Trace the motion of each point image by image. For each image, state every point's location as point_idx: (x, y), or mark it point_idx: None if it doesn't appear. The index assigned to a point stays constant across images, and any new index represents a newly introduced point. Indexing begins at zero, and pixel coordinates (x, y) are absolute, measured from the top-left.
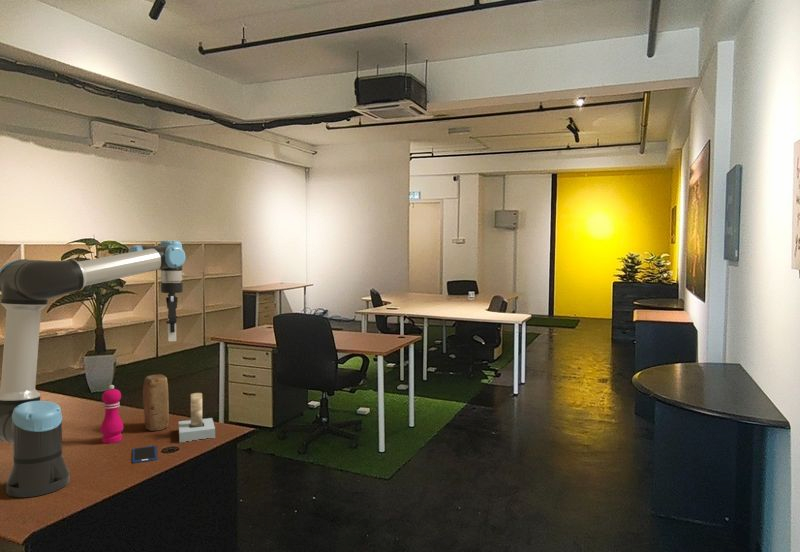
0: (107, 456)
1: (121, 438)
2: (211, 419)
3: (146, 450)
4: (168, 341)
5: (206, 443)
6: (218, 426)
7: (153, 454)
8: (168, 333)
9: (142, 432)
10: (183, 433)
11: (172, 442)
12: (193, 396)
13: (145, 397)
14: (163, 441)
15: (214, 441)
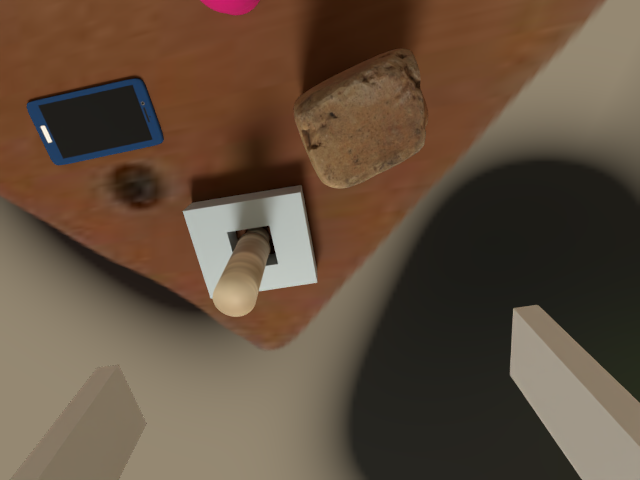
0: (79, 7)
1: (232, 14)
2: (301, 282)
3: (119, 123)
4: (98, 368)
5: (180, 268)
6: (318, 284)
7: (87, 150)
8: (36, 449)
9: (305, 72)
10: (187, 220)
11: (195, 183)
12: (214, 289)
13: (342, 73)
14: (206, 156)
15: (194, 284)
